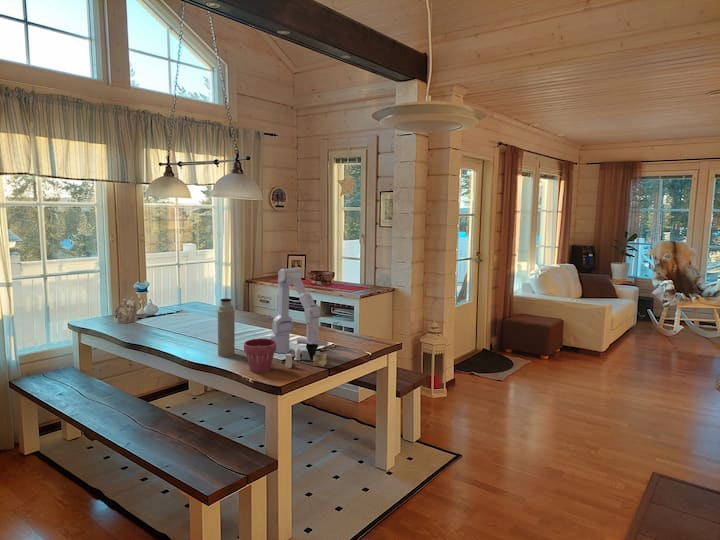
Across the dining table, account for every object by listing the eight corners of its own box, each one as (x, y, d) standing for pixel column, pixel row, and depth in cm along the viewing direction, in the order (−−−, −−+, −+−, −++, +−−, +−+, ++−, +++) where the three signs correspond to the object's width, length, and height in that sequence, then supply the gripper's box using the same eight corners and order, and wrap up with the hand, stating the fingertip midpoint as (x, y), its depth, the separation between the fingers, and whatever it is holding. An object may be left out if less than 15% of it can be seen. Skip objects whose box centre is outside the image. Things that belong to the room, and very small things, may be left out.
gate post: (292, 359, 240) (293, 349, 239) (295, 357, 243) (295, 347, 242) (300, 360, 239) (300, 350, 238) (302, 358, 242) (302, 348, 242)
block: (313, 365, 232) (313, 356, 231) (316, 362, 236) (316, 353, 236) (323, 366, 231) (323, 357, 230) (326, 363, 235) (326, 354, 235)
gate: (301, 359, 240) (301, 350, 239) (302, 358, 241) (302, 349, 241) (319, 361, 238) (319, 352, 238) (319, 360, 239) (320, 351, 239)
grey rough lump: (123, 316, 321) (122, 293, 318) (143, 319, 316) (142, 296, 313) (103, 322, 307) (102, 299, 304) (124, 326, 302) (123, 302, 299)
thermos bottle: (234, 351, 250) (234, 297, 247) (235, 356, 242) (234, 300, 239) (217, 352, 248) (217, 297, 244) (218, 357, 240) (217, 300, 237)
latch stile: (283, 367, 228) (283, 354, 227) (288, 363, 235) (288, 350, 234) (290, 368, 227) (290, 355, 227) (295, 363, 234) (295, 351, 233)
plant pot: (238, 373, 218) (238, 345, 217) (251, 363, 232) (251, 337, 230) (269, 376, 215) (269, 347, 214) (280, 366, 229) (280, 339, 227)
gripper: (295, 332, 230) (294, 360, 232) (325, 334, 227) (324, 363, 229) (299, 328, 237) (299, 356, 238) (329, 331, 234) (328, 359, 236)
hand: (312, 359), depth 234 cm, fingers closed
